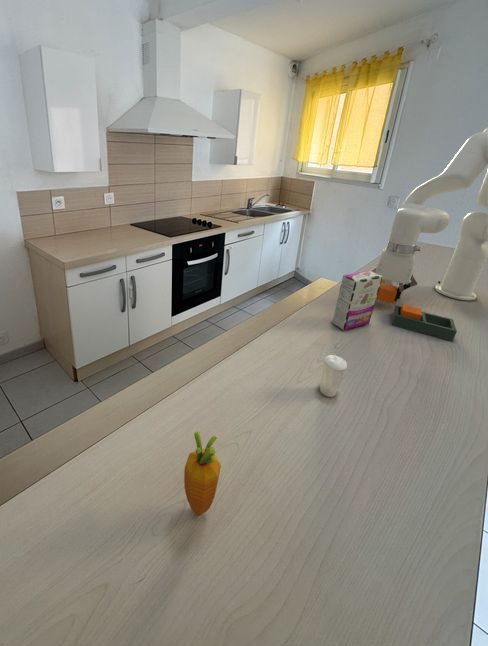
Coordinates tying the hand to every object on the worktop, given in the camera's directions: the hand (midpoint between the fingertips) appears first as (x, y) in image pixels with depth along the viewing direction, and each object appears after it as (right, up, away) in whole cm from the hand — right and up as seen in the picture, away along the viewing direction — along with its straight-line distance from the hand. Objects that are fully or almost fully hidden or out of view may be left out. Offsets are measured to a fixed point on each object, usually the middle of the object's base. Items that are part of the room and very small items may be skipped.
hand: (385, 297), depth 110 cm
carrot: (-66, -27, -62) cm, 95 cm away
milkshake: (-36, -18, -38) cm, 55 cm away
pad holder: (+5, -8, -10) cm, 14 cm away
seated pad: (+1, -7, -9) cm, 11 cm away
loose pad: (0, -1, +1) cm, 1 cm away
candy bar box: (-17, -8, -10) cm, 22 cm away
